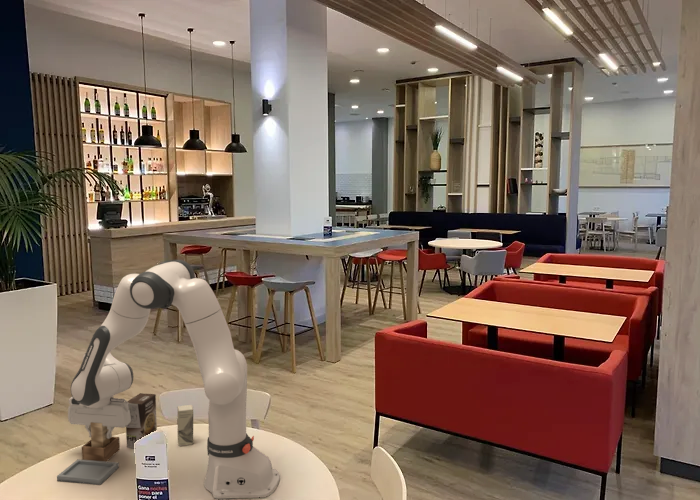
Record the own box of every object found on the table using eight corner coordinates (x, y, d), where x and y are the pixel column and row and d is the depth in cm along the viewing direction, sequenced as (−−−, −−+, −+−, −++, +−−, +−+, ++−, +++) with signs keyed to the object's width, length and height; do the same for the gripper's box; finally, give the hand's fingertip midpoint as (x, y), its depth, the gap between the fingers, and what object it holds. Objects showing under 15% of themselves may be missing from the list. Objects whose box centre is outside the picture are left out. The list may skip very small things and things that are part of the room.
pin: (110, 452, 179) (108, 418, 177) (103, 458, 175) (101, 423, 173) (99, 451, 179) (97, 417, 178) (92, 457, 175) (90, 422, 174)
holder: (119, 449, 181) (119, 437, 180) (105, 462, 173) (105, 448, 172) (97, 447, 182) (96, 435, 181) (82, 460, 174) (81, 447, 173)
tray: (118, 467, 169) (118, 462, 169) (100, 484, 160) (100, 479, 159) (77, 463, 171) (77, 459, 171) (57, 481, 161) (56, 476, 161)
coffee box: (143, 449, 181) (141, 404, 179) (126, 447, 182) (124, 402, 180) (158, 437, 190) (156, 393, 188) (141, 435, 191) (139, 392, 189)
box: (178, 446, 183) (177, 411, 181) (177, 441, 187) (176, 406, 185) (194, 444, 185) (193, 408, 183) (193, 438, 189) (192, 403, 187)
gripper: (133, 395, 176) (135, 435, 178) (76, 391, 179) (78, 430, 181) (123, 403, 170) (124, 444, 172) (63, 399, 173) (66, 439, 174)
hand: (100, 437), depth 176 cm, fingers closed on pin, 4 cm apart
